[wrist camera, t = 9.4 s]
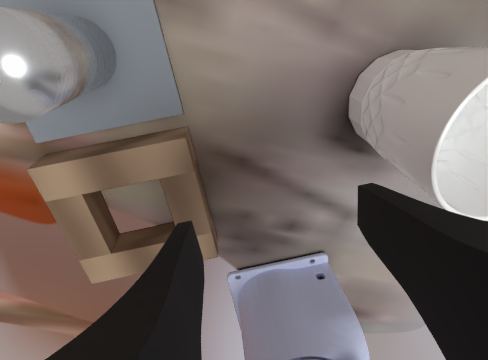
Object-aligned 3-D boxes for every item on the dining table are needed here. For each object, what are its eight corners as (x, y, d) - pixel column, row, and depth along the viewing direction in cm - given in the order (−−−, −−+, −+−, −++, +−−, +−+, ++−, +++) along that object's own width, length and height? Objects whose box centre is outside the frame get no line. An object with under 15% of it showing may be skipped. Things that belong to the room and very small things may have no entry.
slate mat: (135, -71, 16) (133, -73, 15) (183, 112, 20) (183, 114, 20) (-54, -37, 15) (-60, -38, 15) (39, 141, 20) (36, 143, 20)
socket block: (187, 126, 21) (185, 137, 19) (217, 237, 25) (217, 256, 23) (46, 154, 20) (26, 169, 18) (102, 261, 25) (92, 283, 23)
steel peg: (102, 11, 17) (23, -6, 10) (125, 82, 19) (74, 113, 11) (32, 22, 17) (-100, 14, 10) (62, 93, 18) (-30, 131, 11)
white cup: (461, 47, 21) (655, 58, 12) (419, 152, 24) (545, 223, 15) (356, 33, 19) (483, 35, 10) (328, 146, 23) (406, 219, 14)
